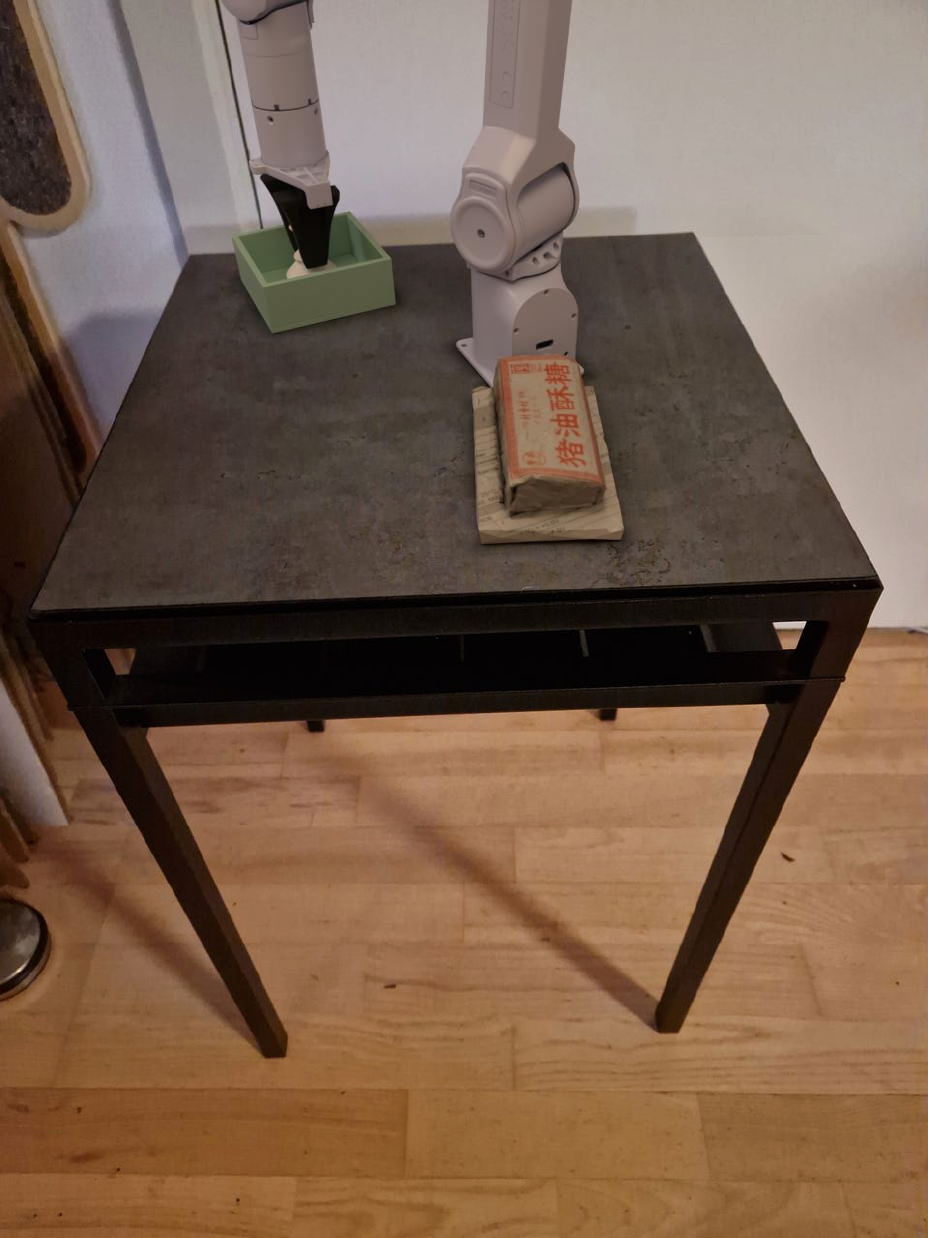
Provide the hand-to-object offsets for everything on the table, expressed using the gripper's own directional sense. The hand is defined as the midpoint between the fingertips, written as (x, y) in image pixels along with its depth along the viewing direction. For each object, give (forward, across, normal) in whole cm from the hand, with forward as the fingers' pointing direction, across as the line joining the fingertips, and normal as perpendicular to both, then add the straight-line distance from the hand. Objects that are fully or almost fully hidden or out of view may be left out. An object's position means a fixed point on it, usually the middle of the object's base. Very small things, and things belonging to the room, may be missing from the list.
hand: (310, 258), depth 85 cm
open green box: (+3, 0, 0) cm, 3 cm away
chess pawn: (+3, 0, 0) cm, 3 cm away
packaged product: (+4, +35, +7) cm, 36 cm away
